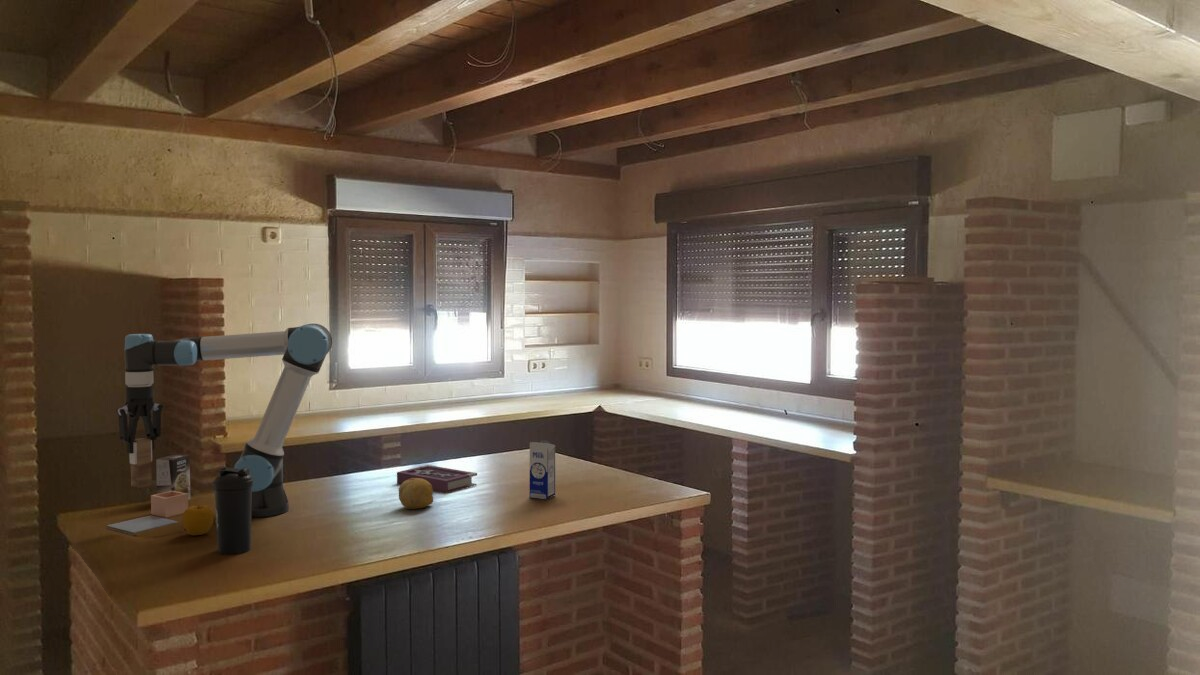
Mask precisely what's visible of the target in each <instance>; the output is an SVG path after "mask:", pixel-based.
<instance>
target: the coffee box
mask: <svg viewBox="0 0 1200 675" xmlns="http://www.w3.org/2000/svg"><path fill="white" fill-rule="evenodd" d="M190 456H191V455H189V454H172V455H168V456H167V455H166V456H163V457H160V458H159V457H158V458H157V459H155V460H156V494H160V493H165V492H169V491H177V492H182V493H187V494H188V500H191V469H190V468H191V462H190V458H191V457H190Z"/></svg>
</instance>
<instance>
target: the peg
mask: <svg viewBox="0 0 1200 675" xmlns="http://www.w3.org/2000/svg"><path fill="white" fill-rule="evenodd" d="M134 442H137V464H130V486H131V487H134V488H144V487H149V486H152V485H153V484H152V483H153V482H152V480H153V479H152V462H151V439H147V438H144V437H143V438H141V437H140V438H135V440H134Z"/></svg>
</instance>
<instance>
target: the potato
mask: <svg viewBox="0 0 1200 675" xmlns="http://www.w3.org/2000/svg"><path fill="white" fill-rule="evenodd" d="M399 485H400V484H399ZM433 493H434V491H433V488H432V485H431V484H430V483H429V482H428V481H427V480H425V479H421V478H411V479H408V480H406V481H404V482H403V483H402V484H401V485H400V486H399V487H398V499H399V502H400V503H401V505H402V506H403V507H404V508H405V509H409V510H417V509H423V508H426V507H428V506H430V505H432V504H433V503H434V496H433Z"/></svg>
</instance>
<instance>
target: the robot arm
mask: <svg viewBox="0 0 1200 675" xmlns="http://www.w3.org/2000/svg"><path fill="white" fill-rule="evenodd" d="M332 345H333V337H332V335H331V332H330V331H329V330H328V329H327V328H326V327H325V326H323V325H322V324H320V323H308V324H303V325H300V326H294V327H287V328H286V329H285V330H284V331H283V330H282V331H281V330H280V331H269V332H267V331H266V332H256V333H255V332H254V333H239V334H238V333H237V334H224V335H211V336H201V337H200V336H199V337H198V336H196V337H195V336H194V337H190V336H189V337H182V338H179V339H175V340H156V339H155V340H154V337H153V335H152V334H151V333H132V334H131V333H130V334H127V335H126V336H125V337H124V350H123V351H124V366H125V367H124V368H125V370H124V375H125V376H124V377H125V378H124V380H125V381H124V382H125V385H126V387H125V400H126V401H125V404H124V406H122V407H121V408H116V409H115V412H116V413H117V416H118V429H119V431H118V432H119V434H118V435H119V441H120V442H125V443H126V452H127V454H129V455H128V456H129V465H131V464H137V442H134V440H135V439H136V435H137V434H136V433H137V429H138V422H139V420H140V418H141V419H142V423H143V427H144V432H145V436H146V439H151V463H152V462H153V451H154V450H155V441H156V440H157V439H158V437H161V435H162V434H161V433H162V432H161V431H162V430H161V428H162V410H163V407H164V406H163V404H160V403H157V402H155V400H154V397H155V396H154V395H155V394H154V393H155V392H154V391H155V390H154V386H153V384H154V381H155V380H154V366H181V367H184V366H193V365H194V364H196V362H201V361H212V360H213V361H214V360H229V359H240V358H241V359H242V358H244V359H245V358H255V357H256V358H257V357H269V356H282V358H281V361H282V362H283V366H284V367H283V370H282V371H281V373H280V377H279V379H278V381H277V383H276V384H275V385H276V386H275V388H274V391H273V393H272V395H271V397H270V399H269V402H268V404H267V406H266V409H265V411H264V414H263V416H262V418H261V421H260V424H259V426H258V428H257V431H256V433H255V435H254V437H253V438H250V439H248V440H246V443H244V445H243V446H244V447H243V450H242V452H241V455H240V457H239V459H238V460H237V462H235V464H234V466H233V468H235V469H240V470H241V469H242V468H244V467H247V468H249V470H250V471H249V474H250V475H251V477H252V478H253V487H252V506H251V518H254V517H255V518H261V517H262V518H263V517H264V518H265V517H271V516H272V517H273V516H277V515H281V514H284V513H285V514H286V513H287V512H289V509H290V502H289V500H288V496H287V495H286V491H285V488H284V469H283V468H284V464H283V463H284V459H283V458H284V455H285V452H284V448H283V445H284V442H285V440H286V438H287V435H288V433H289V430H290V429H291V426H292V424H293V422H294V419H295V418H296V417H295V416H296V414H297V413H298V412H297V411H298V409H299V407H300V405H301V402H302V400H303V397H304V395H305V393H306V391H307V388H308V386H309V383H310V381H311V379H312V377H313V376H315V375H317V374H318V375H319V373H320V371H321V368H322V366H323V363H324V361H325V359H326V356H327V355H328V354H329V352H330V351H331V349H332V347H333V346H332ZM151 411H152V413H151ZM127 414H128V416H127Z"/></svg>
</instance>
